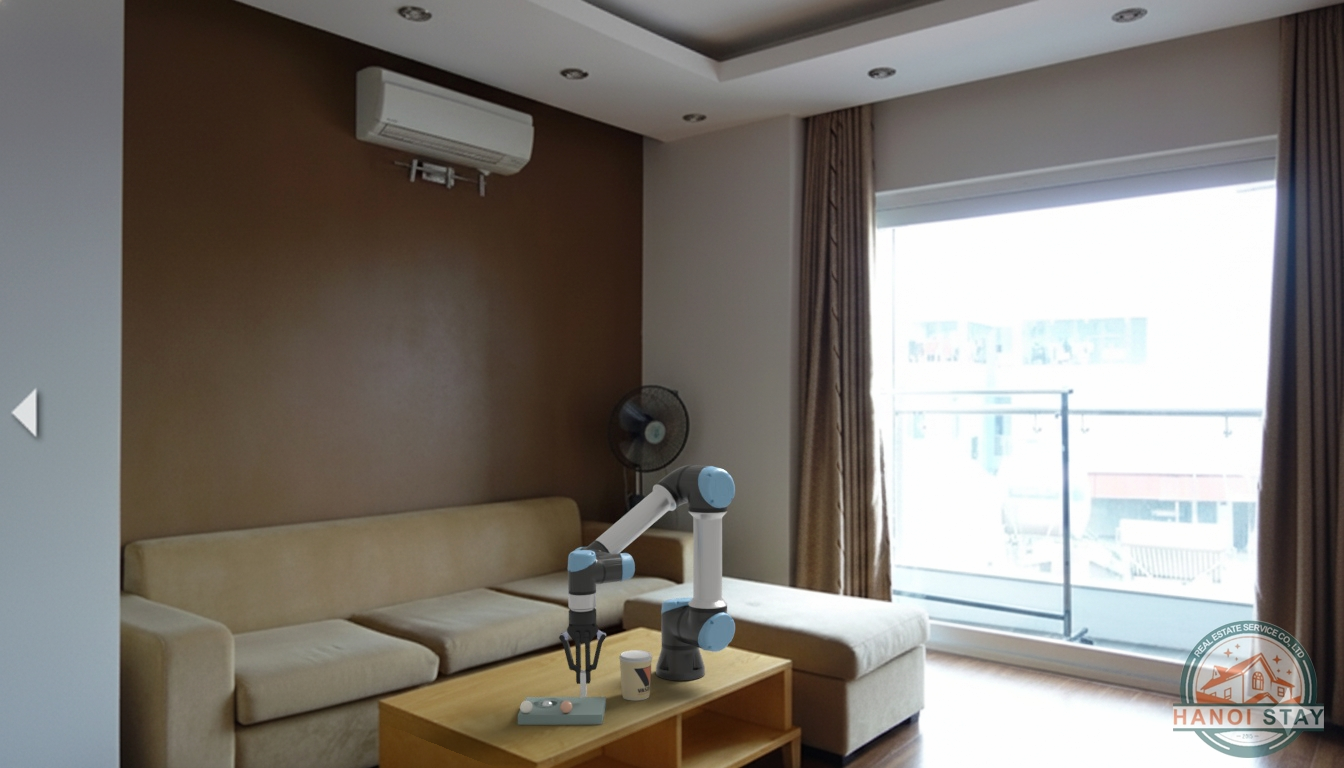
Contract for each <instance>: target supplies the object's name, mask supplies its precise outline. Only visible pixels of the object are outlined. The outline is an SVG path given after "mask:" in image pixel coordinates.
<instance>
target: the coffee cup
mask: <svg viewBox="0 0 1344 768" xmlns="http://www.w3.org/2000/svg"><path fill="white" fill-rule="evenodd" d="M618 659H619V666H620V667H619V668H620V680H621V681H620V684H621V696H622V698H623V699H624V700H628V701H643V700H647V699H649V697H650V693H651V690H650V689H651V678H652V677H651V675H652V660H653V655H652V653H651V652H650V651H647V650H640V649H633V650H631V649H630V650H625V651H623V652H621V653H620V656H619V658H618Z"/></svg>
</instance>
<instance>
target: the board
mask: <svg viewBox="0 0 1344 768" xmlns="http://www.w3.org/2000/svg"><path fill="white" fill-rule="evenodd" d="M566 700H567V701H570V702H571V703H572V710H571V711H570V712H569V713H563V712H562V711H561V709H560V705H561V703H562V702H563V701H566ZM524 701H530V702H531V703H532V710H531V712H529V713H523V712H522V711H521V709H520V708H519V709H520V710H519V711H518V714H517V725H518V726H519V725H521V726H522V725H523V726H525V725H527V726H528V725H531V726H533V725H534V726H535V725H538V726H540V725H544V726H545V725H550V726H551V725H562V726H563V725H566V726H567V725H603V722H604V718H605V712H606V707H607V697H606V696H586V697H580V696H526V697H525V699H524ZM544 701H550V702H552V704H553V706H543V705H542V703H543V702H544Z"/></svg>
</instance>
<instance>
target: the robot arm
mask: <svg viewBox="0 0 1344 768" xmlns="http://www.w3.org/2000/svg"><path fill="white" fill-rule="evenodd" d="M735 494H736V485H735V482H734V479H733V477H732V476H731V474H729V472H728V471H727V470H725V469H723V468H720V467H716V466H713V465H696V464H687V465H683V466H681V467H678V468H676V469H674V470H672V471H671V472H670V473H668V474H667V475H665V476H664V477H663V478H662V479H660V480H659V481H658V482H657V483H655V484H654V485H653V487H652V492H650V493H649V494H648V495H646V496H645V497H644V498H643V499H642V500H641V501H640V502H639V503H637V504H635V506H634V507H632V508H631V509H630V510H629V511H628V512H626V513H625V514H624V515H623V516H621V518H620V519H619V520H617V521H616V522H615V523H614V524H612V525H611V526H610V527H608V529H607V530H606V531H604V532H603V533H602V534H601V535H599V536H598V537H597V538H596V539H595V540H594V541H592V542H591V543H590V544H589V545H588V546H580V547H577V548H575V550H573V551H571V552H570V553H569V554H568V558H567V585H568V586H567V588H568V589H567V590H568V594H567V595H568V596H567V597H568V603H567V604H568V608H569V609H568V627H567V629H566V631H565V632H562V633H559V636H558V639H559V641H560V642H561V643H562V645H563V649H564V653H565V658H566V661H567V665H568V669H569V670H570V671H573V672H575V677H576V679H575V680H576V681H575V682H576V684H577V685H579V686H580V691H579V692H580V696H579V697H587V695H588V689H587V688H588V684H590V683H591V679H592V678H591V672H592V671H594V670H595V671H596V669H598V668H597V667H598V663H599V660H600V655H601V651H602V650H601V649H602V645H603V642H605V639H606V638H607V633H606V632H604V631H601V630H600V629H599V626H598V625H597V623H598V622H597V609H596V607H597V585H601V584H603V585H604V584H608V583H609V584H610V583H616V582H623V581H628V580H631V579H632V578H633V576H634V575H635V571H636V568H635V567H636V564H635V561H634V558H633V556H632V555H631V554H629V553H628V552H623V553H621V552H622V551H623V550H624V549H626V548H627V547H628V546H629V545H630V544H632V543H633V542H634V541H635V540H636V539H637V538H639V537H640V536H641V535H642V534H643V533H644V532H646V531H647V530H648V529H649V528H650V527H651V526H652V525H653V524H654V523H656V522H658V520H659V519H661V518H662V517H663V516H664V515H665V514H666V513H667V512H669V511H671V512H674V511H675V510H676V509H677V508H678V507H679V506H682V505H684V504H687V505H688V507H687V508H688V509H687V510H688V513H689V515H691V516H692V518H693V521H692V522H693V524H692V525H693V529H692V530H693V532H692V533H693V535H692V537H693V540H692V541H693V542H692V543H693V544H692V545H693V547H692V548H693V553H692V554H693V559H692V561H693V562H692V563H693V567H692V568H693V569H692V570H693V574H692V575H693V576H692V577H693V581H692V582H693V585H692V587H693V588H692V590H693V597H679V598H678V597H677V598H672V599H667V600H664V601H663V602H662V604H661V611H660V615H661V617H660V619H661V620H660V621H661V624H660V625H661V629H660V630H661V650H660V652H659V655H658V659H657V662H656V665H655V674H656V676H657V677H659V678H661V679H663V680H668V681H692V680H693V681H694V680H697V679H700V678H702V677H704V676H705V675H706V666H705V664H704V663H705V662H704V660H703V657H702V654H701V650H703V651H707V652H712V653H713V652H714V653H716V652H721V651H722V650H724V649H726V648H727V647H728V645H729V644H730V643H732V641H733V638H734V636H735V632H736V623H735V621H734V619H733V618H732V616H731V615H730V614H728V602H727V601H726V600H725V599H724V598H723V517H724V516H725V515H726V514H727V513H728V506H729V505H730V504H731V503H732V500H733V499H734V498H735ZM596 636H597V637H596ZM595 637H596V639H597V644H596V649H595V654H594V657H593V662H592V661H591V643H592V642H593V640H594V638H595ZM569 638H571V639H572V641H573V642H574V644H575V661H574V658H573V655H572V653H573V652H572V650H571V645H570V643H569ZM582 644H584V651H585V652H584V656H585V657H584V658H585V659H584V660H585V661H584V664H585V665H584V666H585V667H584V668H585V669H582ZM700 649H701V650H700ZM591 662H592V663H591Z"/></svg>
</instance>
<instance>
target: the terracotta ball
mask: <svg viewBox="0 0 1344 768" xmlns="http://www.w3.org/2000/svg"><path fill="white" fill-rule="evenodd" d="M560 709H561V711H562V712H563V713H569V712H570V711H571V710H572V703H571V702H570V701H567V700H566V701H563V702H562V703H561V705H560Z"/></svg>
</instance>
